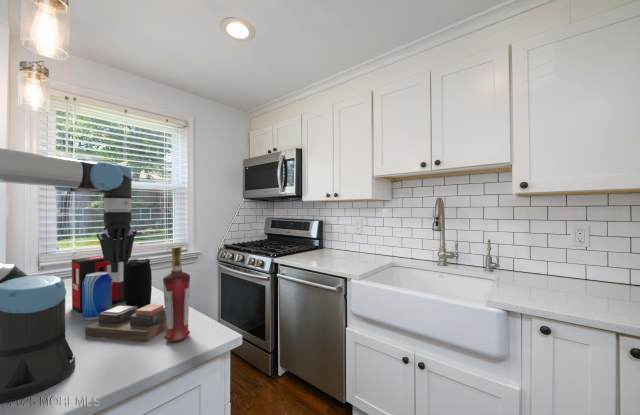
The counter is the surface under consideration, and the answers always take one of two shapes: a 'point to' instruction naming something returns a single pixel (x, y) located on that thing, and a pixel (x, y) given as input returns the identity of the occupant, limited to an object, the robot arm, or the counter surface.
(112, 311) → the off-white key
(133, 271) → the black tapered cylinder
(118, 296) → the cleaning product box
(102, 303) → the blue striped container
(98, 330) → the key panel
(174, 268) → the liquor
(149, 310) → the brick-red key
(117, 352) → the counter surface
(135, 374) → the counter surface
